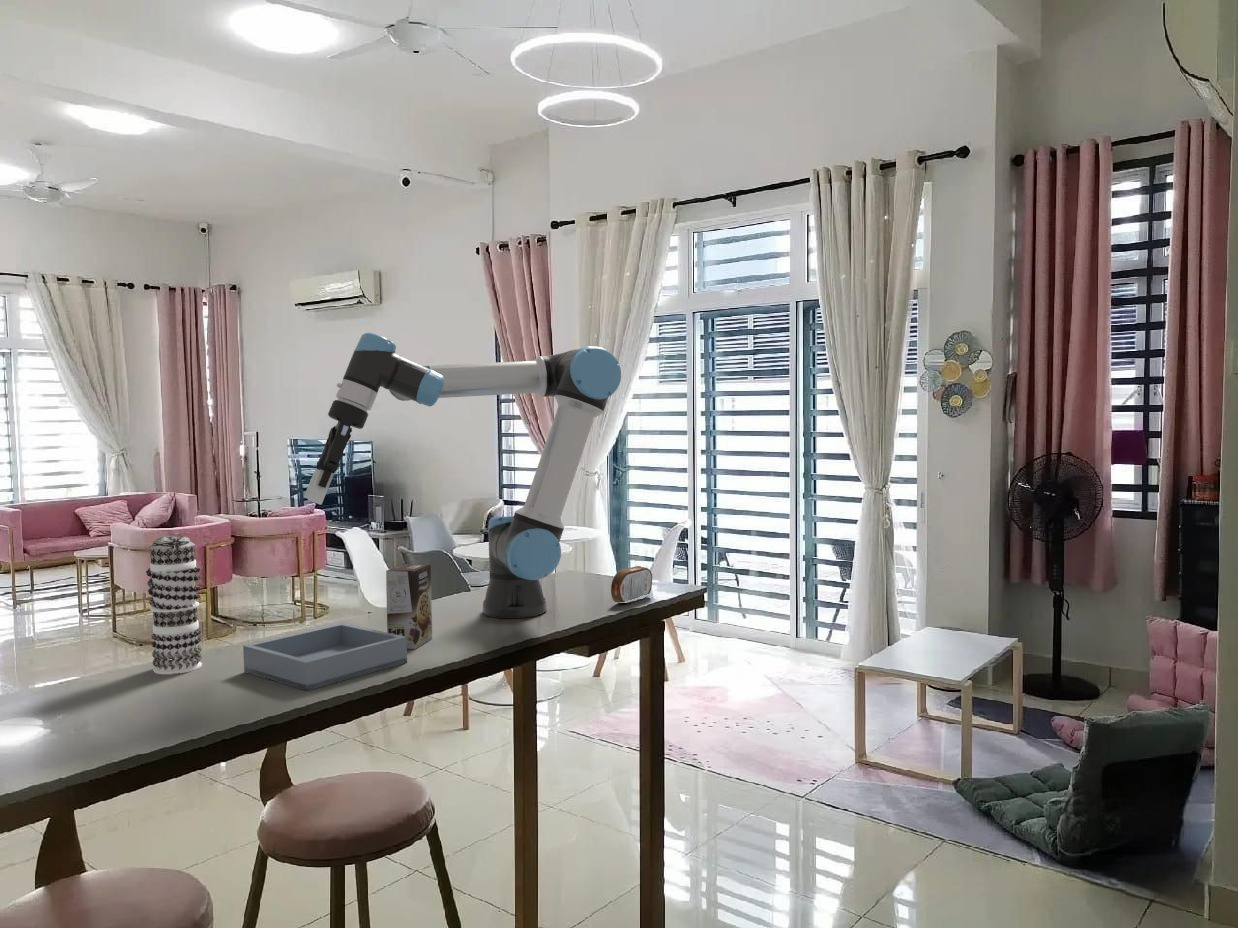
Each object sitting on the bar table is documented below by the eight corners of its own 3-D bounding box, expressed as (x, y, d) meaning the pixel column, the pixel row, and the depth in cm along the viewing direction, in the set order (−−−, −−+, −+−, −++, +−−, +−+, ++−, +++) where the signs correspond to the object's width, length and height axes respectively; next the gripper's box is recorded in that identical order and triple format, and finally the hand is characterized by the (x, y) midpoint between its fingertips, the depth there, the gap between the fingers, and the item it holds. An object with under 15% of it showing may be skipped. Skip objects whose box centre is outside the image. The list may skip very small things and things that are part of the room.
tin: (644, 595, 241) (644, 563, 240) (654, 596, 239) (654, 564, 238) (609, 606, 229) (609, 571, 228) (620, 607, 227) (619, 573, 226)
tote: (343, 646, 192) (342, 622, 192) (407, 662, 180) (406, 636, 180) (244, 671, 175) (243, 645, 175) (306, 690, 163) (305, 662, 163)
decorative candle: (179, 676, 173) (174, 542, 171) (139, 673, 175) (133, 540, 174) (214, 663, 181) (209, 535, 180) (175, 660, 184) (170, 533, 182)
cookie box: (416, 649, 190) (414, 570, 189) (386, 648, 191) (384, 570, 190) (433, 638, 199) (432, 563, 198) (405, 637, 200) (403, 562, 199)
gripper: (329, 401, 205) (291, 492, 202) (340, 394, 181) (297, 496, 179) (362, 414, 207) (325, 504, 204) (377, 409, 184) (335, 510, 181)
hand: (312, 501), depth 191 cm, fingers open, 13 cm apart
